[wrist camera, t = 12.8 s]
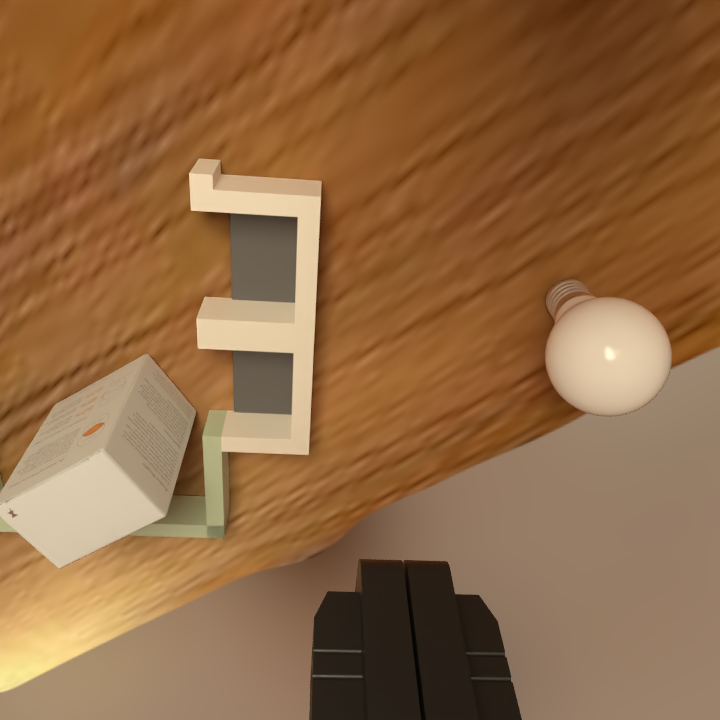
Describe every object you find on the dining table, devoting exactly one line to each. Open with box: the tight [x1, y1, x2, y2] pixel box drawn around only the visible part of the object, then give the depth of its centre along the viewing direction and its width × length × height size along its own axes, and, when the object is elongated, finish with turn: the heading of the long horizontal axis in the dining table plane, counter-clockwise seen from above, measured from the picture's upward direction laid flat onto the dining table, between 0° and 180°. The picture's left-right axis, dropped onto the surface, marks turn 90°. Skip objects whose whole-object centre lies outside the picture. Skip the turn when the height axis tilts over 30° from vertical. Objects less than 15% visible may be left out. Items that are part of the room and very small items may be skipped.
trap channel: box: [0, 159, 322, 538], centre depth 43 cm, size 26×23×3 cm
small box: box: [0, 354, 196, 569], centre depth 42 cm, size 8×6×10 cm
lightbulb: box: [545, 279, 672, 416], centre depth 39 cm, size 6×6×11 cm
